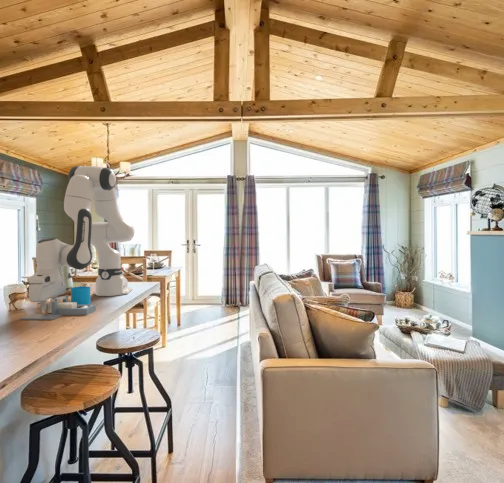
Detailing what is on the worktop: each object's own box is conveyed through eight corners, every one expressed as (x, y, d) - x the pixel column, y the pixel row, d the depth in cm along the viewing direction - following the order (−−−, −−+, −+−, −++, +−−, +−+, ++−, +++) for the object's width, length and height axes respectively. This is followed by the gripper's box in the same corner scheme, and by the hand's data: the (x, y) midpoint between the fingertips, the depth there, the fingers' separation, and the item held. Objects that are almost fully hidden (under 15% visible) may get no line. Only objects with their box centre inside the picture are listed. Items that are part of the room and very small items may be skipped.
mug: (86, 307, 161) (86, 289, 161) (68, 307, 161) (67, 289, 161) (96, 301, 173) (96, 284, 173) (79, 301, 173) (78, 285, 172)
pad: (31, 315, 146) (31, 313, 146) (62, 315, 145) (62, 314, 145) (19, 319, 139) (19, 318, 139) (52, 320, 138) (51, 318, 138)
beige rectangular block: (41, 313, 149) (41, 303, 149) (47, 311, 154) (47, 301, 153) (71, 313, 149) (71, 304, 149) (77, 311, 153) (76, 302, 153)
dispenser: (50, 315, 146) (50, 300, 146) (65, 309, 156) (65, 295, 156) (85, 315, 145) (84, 300, 145) (97, 309, 156) (97, 295, 155)
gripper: (55, 273, 161) (56, 303, 162) (25, 279, 141) (26, 314, 141) (69, 273, 161) (70, 303, 162) (40, 279, 141) (41, 314, 141)
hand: (49, 308), depth 151 cm, fingers open, 5 cm apart
